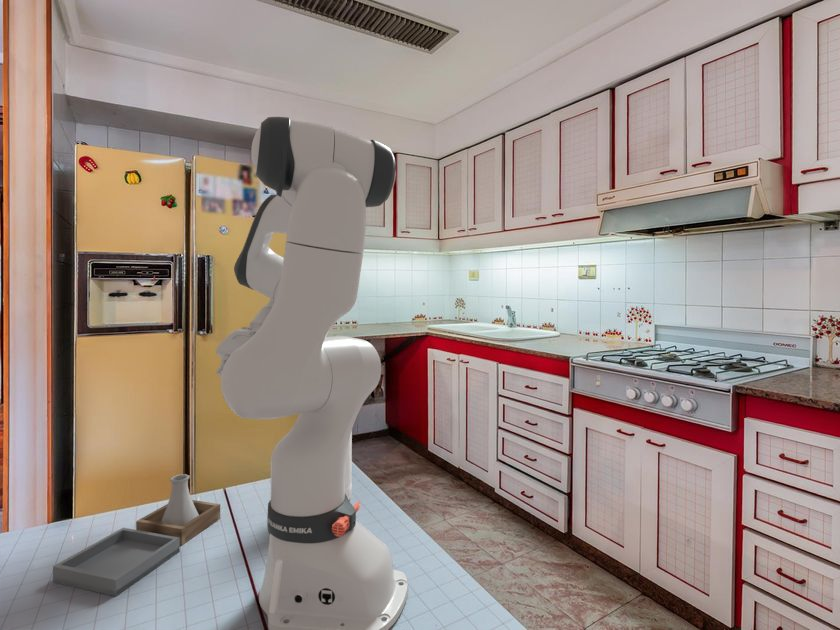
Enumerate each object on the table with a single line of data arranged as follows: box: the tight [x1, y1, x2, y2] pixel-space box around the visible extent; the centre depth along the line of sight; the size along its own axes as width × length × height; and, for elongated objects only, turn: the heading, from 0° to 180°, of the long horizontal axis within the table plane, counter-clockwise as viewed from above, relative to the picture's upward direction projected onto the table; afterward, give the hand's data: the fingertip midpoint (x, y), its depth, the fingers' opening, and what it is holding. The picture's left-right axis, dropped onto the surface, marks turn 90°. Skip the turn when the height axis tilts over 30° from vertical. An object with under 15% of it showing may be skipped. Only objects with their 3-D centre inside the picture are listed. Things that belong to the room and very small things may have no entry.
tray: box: [52, 527, 181, 597], centre depth 75 cm, size 12×12×2 cm
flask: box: [161, 473, 199, 526], centre depth 87 cm, size 7×7×10 cm
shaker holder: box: [135, 499, 221, 546], centre depth 88 cm, size 10×10×3 cm
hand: (234, 377), depth 97 cm, fingers open, 8 cm apart
